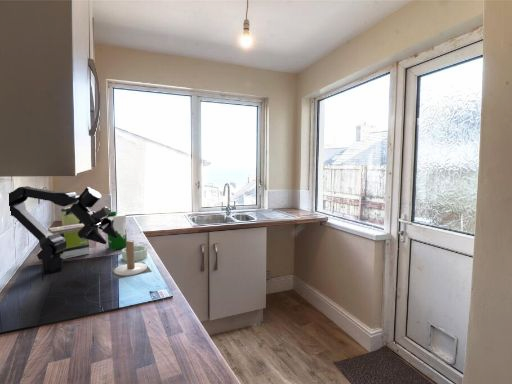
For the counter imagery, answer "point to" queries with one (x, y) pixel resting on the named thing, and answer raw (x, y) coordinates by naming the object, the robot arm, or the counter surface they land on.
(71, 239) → the tea box
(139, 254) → the bowl
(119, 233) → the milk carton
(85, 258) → the counter surface
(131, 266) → the peg on round base
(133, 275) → the mat
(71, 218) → the protein box
